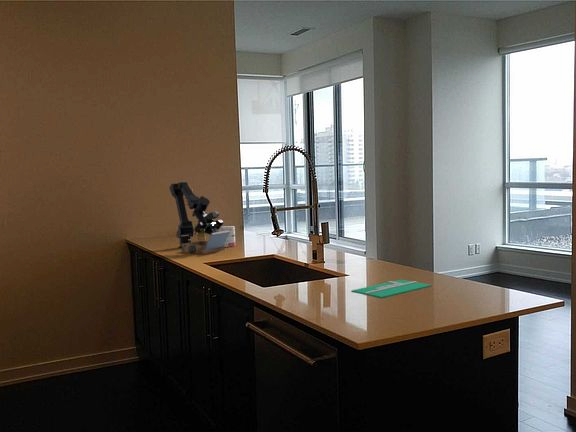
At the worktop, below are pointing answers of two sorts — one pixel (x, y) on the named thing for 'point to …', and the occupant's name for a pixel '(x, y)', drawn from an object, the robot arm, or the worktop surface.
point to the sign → (391, 288)
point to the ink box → (229, 236)
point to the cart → (198, 247)
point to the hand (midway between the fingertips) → (217, 237)
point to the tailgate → (217, 239)
